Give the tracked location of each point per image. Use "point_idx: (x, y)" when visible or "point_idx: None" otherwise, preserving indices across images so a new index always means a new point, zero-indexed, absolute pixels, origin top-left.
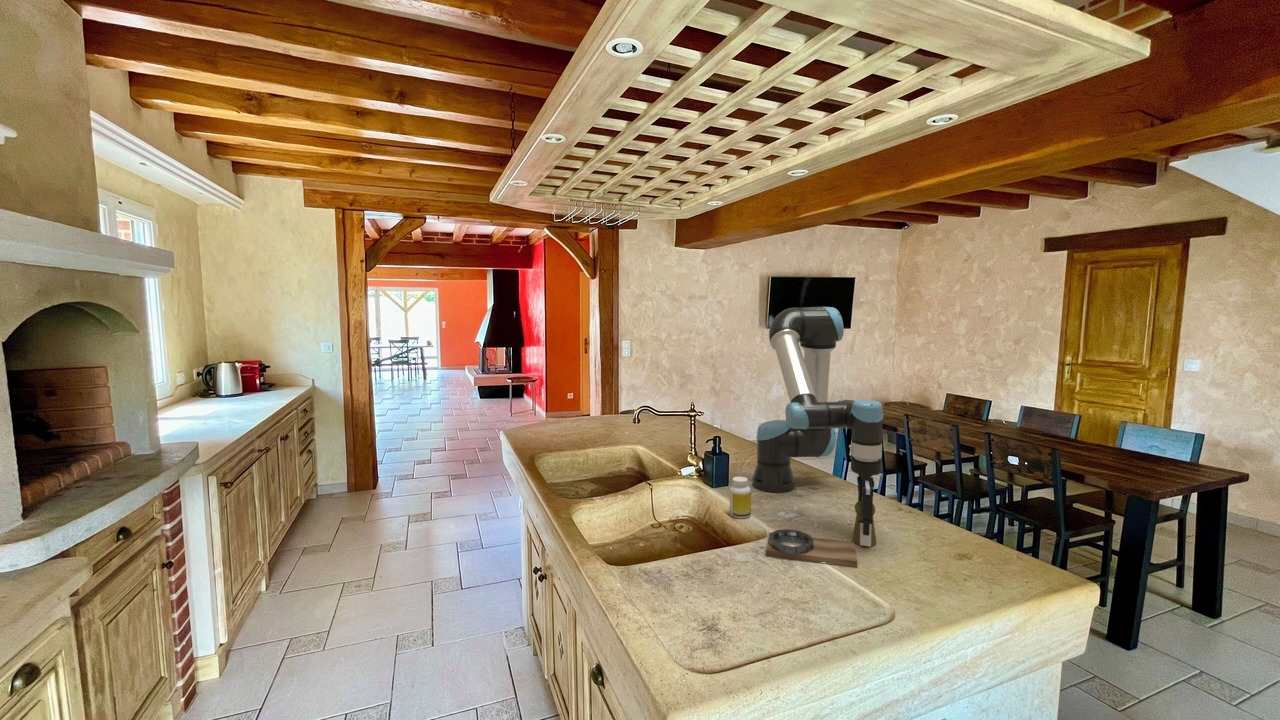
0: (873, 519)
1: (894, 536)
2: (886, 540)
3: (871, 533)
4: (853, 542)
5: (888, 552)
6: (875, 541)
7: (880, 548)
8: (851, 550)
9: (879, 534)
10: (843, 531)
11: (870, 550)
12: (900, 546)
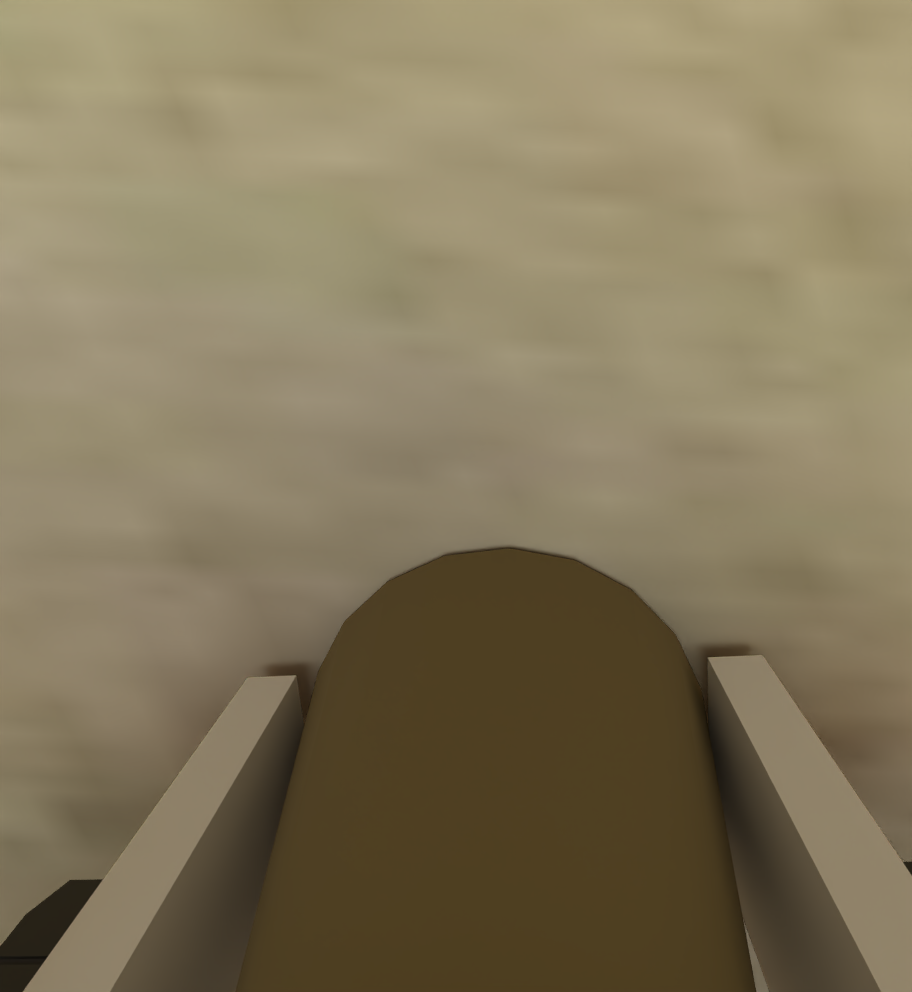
0: (492, 979)
1: (39, 201)
2: (295, 360)
3: (681, 765)
4: None
5: (845, 348)
6: (561, 581)
7: (701, 482)
8: None
9: (76, 472)
10: None
11: (838, 649)
12: (482, 99)
